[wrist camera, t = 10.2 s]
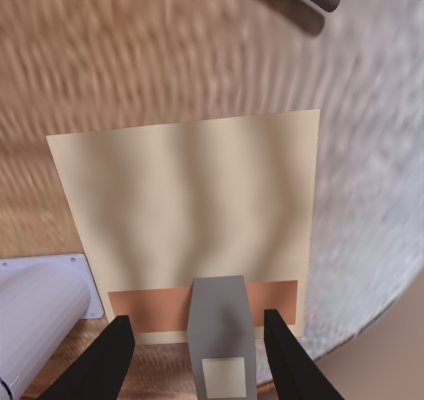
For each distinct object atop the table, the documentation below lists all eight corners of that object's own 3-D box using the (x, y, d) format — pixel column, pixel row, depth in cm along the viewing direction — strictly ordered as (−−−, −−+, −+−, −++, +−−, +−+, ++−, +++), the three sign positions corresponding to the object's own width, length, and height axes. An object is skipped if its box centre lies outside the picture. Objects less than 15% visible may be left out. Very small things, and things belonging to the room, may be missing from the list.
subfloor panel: (117, 345, 23) (116, 346, 23) (46, 135, 16) (44, 136, 16) (302, 335, 22) (303, 337, 22) (319, 108, 15) (320, 108, 15)
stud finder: (202, 335, 22) (198, 406, 17) (194, 278, 20) (185, 337, 14) (246, 333, 22) (257, 404, 16) (243, 275, 20) (255, 334, 14)
